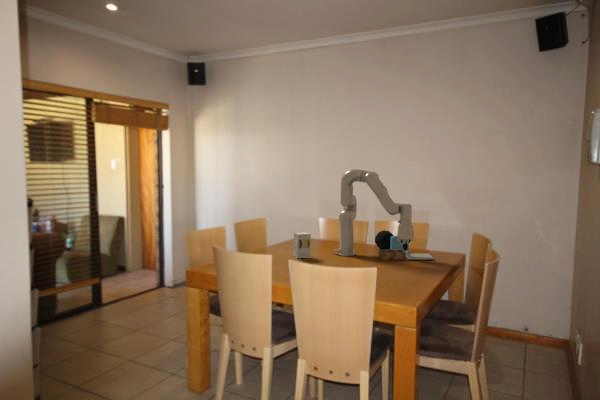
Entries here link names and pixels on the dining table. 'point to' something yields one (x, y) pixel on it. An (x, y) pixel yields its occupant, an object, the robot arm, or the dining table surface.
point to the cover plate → (418, 256)
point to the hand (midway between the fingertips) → (405, 249)
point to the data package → (397, 244)
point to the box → (391, 255)
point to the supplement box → (302, 245)
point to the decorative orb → (383, 240)
